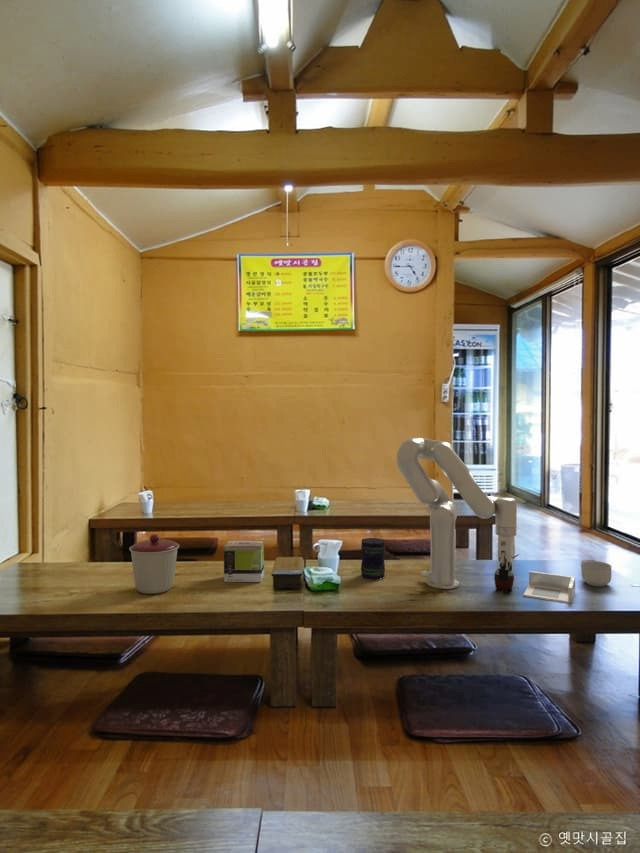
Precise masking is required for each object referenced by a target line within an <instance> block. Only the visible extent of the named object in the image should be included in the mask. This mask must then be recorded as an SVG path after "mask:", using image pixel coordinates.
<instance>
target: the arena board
mask: <svg viewBox="0 0 640 853" xmlns="http://www.w3.org/2000/svg"><path fill="white" fill-rule="evenodd" d="M523 597H527V598H534V599H538V600H547V601H552V602H559V603H564V602H565V604H569V603H568V590H564V589H557V588H550V587H543V586H536V585H530V584H529V583H528V586H527V588H526V589H525V591H524V593H523Z"/></svg>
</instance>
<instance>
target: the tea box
mask: <svg viewBox="0 0 640 853" xmlns="http://www.w3.org/2000/svg"><path fill="white" fill-rule="evenodd" d="M264 544H265V543H264V540H227V542H226V544H224V546H223V581H224V583H261V582H262V580H263V578H264V576H265V554H264V553H265V550H264V549H265V546H264Z"/></svg>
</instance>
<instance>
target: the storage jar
mask: <svg viewBox="0 0 640 853" xmlns="http://www.w3.org/2000/svg"><path fill="white" fill-rule="evenodd" d="M360 547H361V548H360V550H361V552H360V554H361V565H360V566H361V567H360V571H361V572H360V573H361V575H360V577H361V576H362V577H363V578H362V577H361V578H362V579H364V578H365V579H364V580H367V579H380V578H383V577H386V576H385V574H386V573H385V571H386V564H385V556H386V540H385V539H383V538H378V537H377V538H376V537H367V538H366V537H365V538H363V539H361V546H360Z"/></svg>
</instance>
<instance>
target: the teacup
mask: <svg viewBox="0 0 640 853" xmlns="http://www.w3.org/2000/svg"><path fill="white" fill-rule="evenodd" d="M612 567H613V566H612V565H611V563H610V564H609V563H607V562H603V561H595V560H591V561H590V560H582V561H581V562H580V568H581V577H582V580H583V581H584V582H585V583H586V584H587V585H590V586H593V587H605V586H607V585H608V584H610V583H611V581H612Z"/></svg>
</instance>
